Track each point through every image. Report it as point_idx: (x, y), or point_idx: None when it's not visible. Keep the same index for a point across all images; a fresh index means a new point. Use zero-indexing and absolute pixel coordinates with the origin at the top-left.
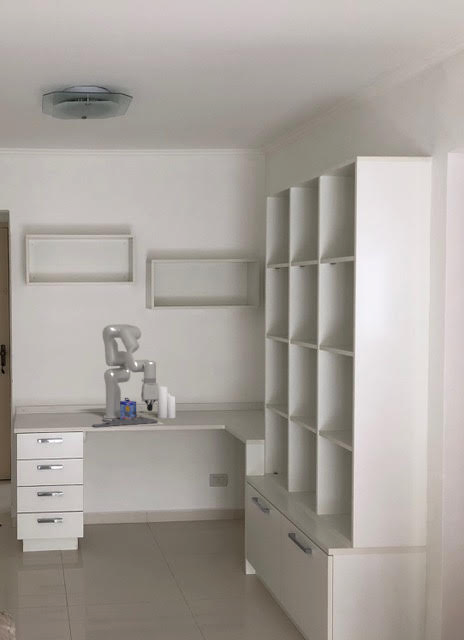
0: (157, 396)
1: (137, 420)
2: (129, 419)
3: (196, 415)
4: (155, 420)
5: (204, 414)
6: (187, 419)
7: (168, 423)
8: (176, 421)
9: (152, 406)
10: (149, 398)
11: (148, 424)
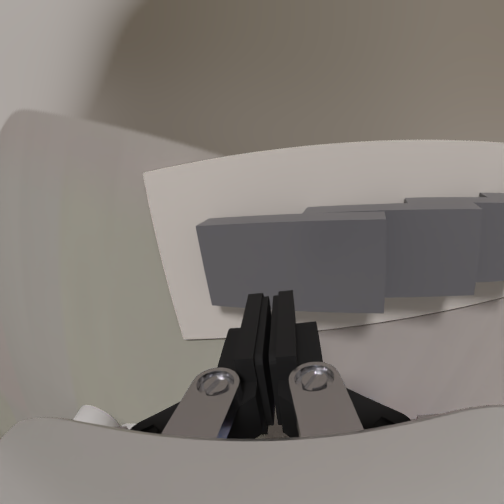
0: (3, 461)
1: (438, 204)
2: (483, 270)
3: (19, 411)
4: (223, 224)
5: (4, 411)
6: (19, 338)
7: (111, 212)
8: (58, 294)
9: (223, 352)
10: (338, 465)
11: (316, 171)
